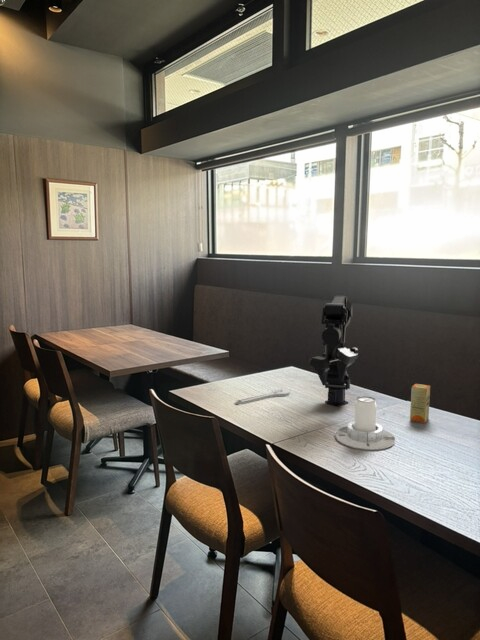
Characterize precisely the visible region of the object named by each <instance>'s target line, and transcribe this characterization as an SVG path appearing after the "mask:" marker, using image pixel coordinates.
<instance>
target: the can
mask: <svg viewBox="0 0 480 640" xmlns="http://www.w3.org/2000/svg"><path fill="white" fill-rule="evenodd" d="M376 423H377V403H376V398H374V397H373V396H368V395H363V396H362V395H360V396H356V400H355V403H354V429H356V430H359V431H365V432H372V431H376Z"/></svg>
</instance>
